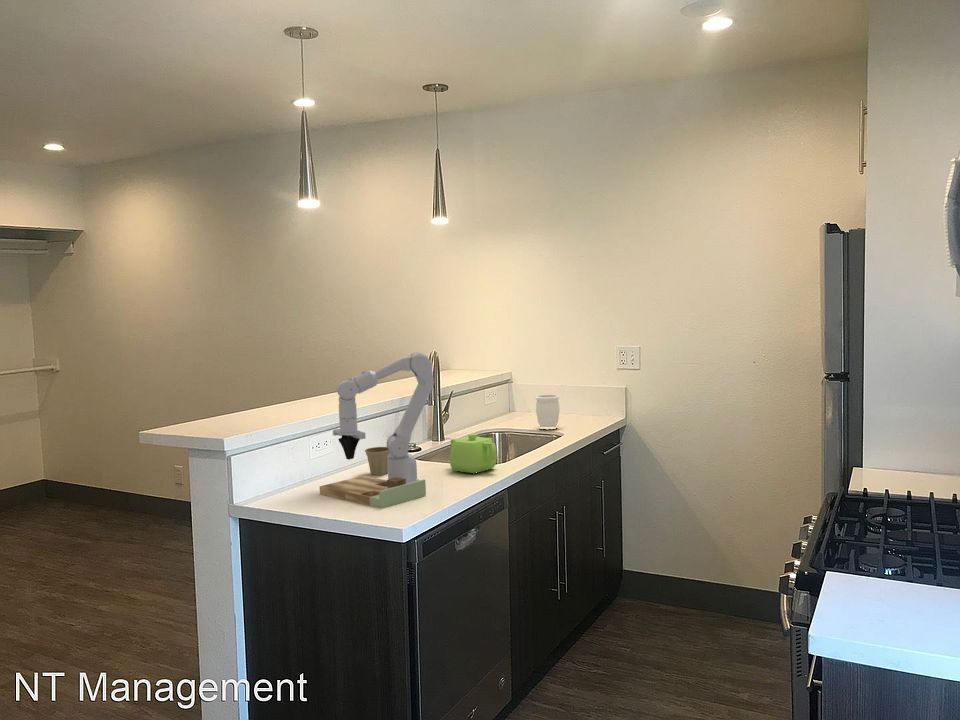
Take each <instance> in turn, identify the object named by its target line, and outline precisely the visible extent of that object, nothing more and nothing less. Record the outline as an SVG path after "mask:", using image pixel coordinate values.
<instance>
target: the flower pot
mask: <svg viewBox="0 0 960 720" xmlns="http://www.w3.org/2000/svg"><path fill="white" fill-rule="evenodd" d="M389 452H390V451H389V450H388V448H387V446H375V447H369V448H365V449H364V453H365V454H366V457H367V461H368V466H369V472H370V473H369V474H370V475H371V476H381V475H382V476H383V474H384V475H386V474H388V463H387V455H388V454H389Z"/></svg>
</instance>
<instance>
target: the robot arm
mask: <svg viewBox="0 0 960 720" xmlns="http://www.w3.org/2000/svg"><path fill="white" fill-rule="evenodd" d="M400 371H406V372H412V373H413V374H414V376H415V379H416V381H417V386H415V387H416V388H415V389H414V391H413V394H412V396H411V398H410V400H409V402H408V404H407V407H406V408H405V411H404V413H403V415H402V418H401V420H400V422H399V425H398V426H397V427H396V428H395V430H394V432H393V434H392V435H390V436H389V437H388V438H387V441H386V447H387V448H388V450H389V451H390V452H389V454H388V455H387V463H388V473H387V480H388V479H392V478H396V477H398V478H404V479H406V484H407V483H411V482H415V481H419V480H420V479H418V472H417V470H418V469H417V467H418V465H417V460H416V458H415V456H414V455H412V454H410V453H409V449H410V443H411V439H412V432H413V431H414V428H415V427H416V424H417V422H418V420H419V417H420V416H421V413H422V412H423V409H424V406H425V405H426V403H427V400H428V398H429V396H430V394H431V392H432V390H433V387H434V384H435V379H434V372H433V364H432V362H431V360H430V359H429V357H428V356H427V355H425V354H423V353H421V352H412V353H411V354H410V355H409V354H407V355H405V356H402V357H400V358H399V357H398V359H395V360H394V361H391V362H390V363H388V364H386V365H385V366H383V367H380V368H378V369H377V370H375V371H373V370H370V369H368V370H366V369H363V370H362V371H361V373H359V374H357V375H355V376H353V377H351V376H350V377H348V380H343V381H341V382H340V383H339V384H338V386H337V389H336V393H337V394H338V395H339V396H338V417H339V419H338V421H339V428H335V429H332V436H335V437H336V436H340V438H338V442H339V444H340V445H341V447H342V450H343V452H344V456H345V459H346V460H353V459H354V458H355V454H356V450H357V447H358V444H359V442H360V440H365V439H366V436H367V435H366V432H363V431H361V430H359V429H358V412H357V403H356V396H357V394H358V395H359V394H362V393H364V392H366V391H368V390H369V389H373V388H374V387H376V386H377V385H378V383H379V381H380V380H382V379H385V378H387V377H389V376H391V375H393V374H396V373H398V372H400Z"/></svg>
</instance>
